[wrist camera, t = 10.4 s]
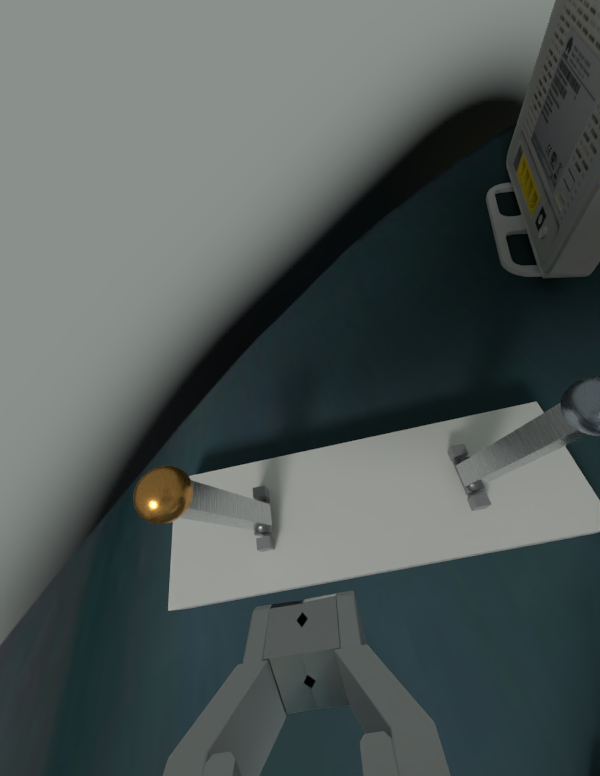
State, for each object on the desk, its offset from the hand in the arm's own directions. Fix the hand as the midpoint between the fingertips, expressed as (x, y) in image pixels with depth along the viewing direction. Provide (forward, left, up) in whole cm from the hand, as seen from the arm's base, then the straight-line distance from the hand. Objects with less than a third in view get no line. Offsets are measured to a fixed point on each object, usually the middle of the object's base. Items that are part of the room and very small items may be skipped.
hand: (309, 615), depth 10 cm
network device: (-43, -23, -19) cm, 52 cm away
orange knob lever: (+3, -8, -15) cm, 17 cm away
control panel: (-5, -5, -19) cm, 20 cm away
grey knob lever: (-12, -2, -15) cm, 19 cm away
